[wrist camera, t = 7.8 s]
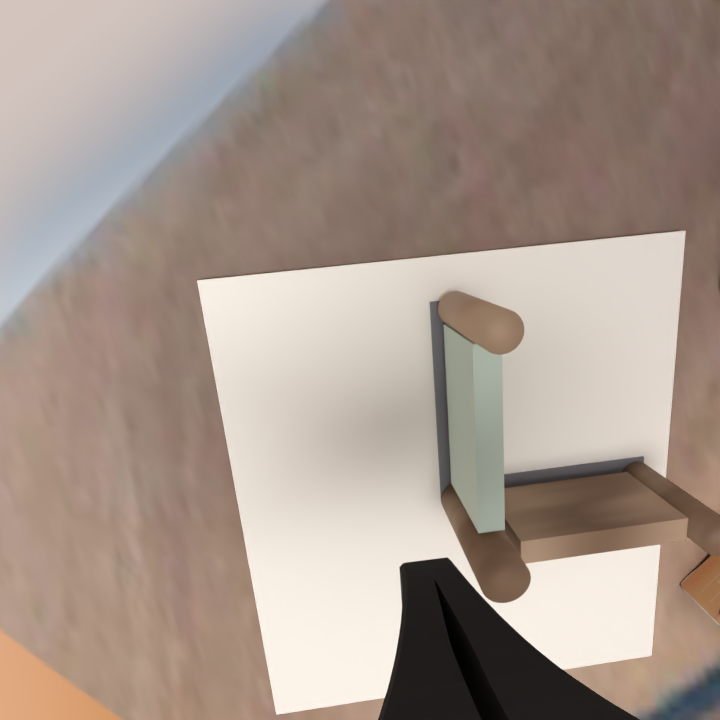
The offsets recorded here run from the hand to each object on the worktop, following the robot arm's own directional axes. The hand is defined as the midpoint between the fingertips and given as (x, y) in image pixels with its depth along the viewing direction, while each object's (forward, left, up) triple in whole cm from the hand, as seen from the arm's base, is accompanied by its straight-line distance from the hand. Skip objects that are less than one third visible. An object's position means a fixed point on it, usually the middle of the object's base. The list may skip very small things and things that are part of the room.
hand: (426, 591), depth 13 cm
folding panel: (-3, -3, -8) cm, 9 cm away
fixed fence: (-7, +3, -8) cm, 11 cm away
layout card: (-3, +3, -9) cm, 10 cm away
